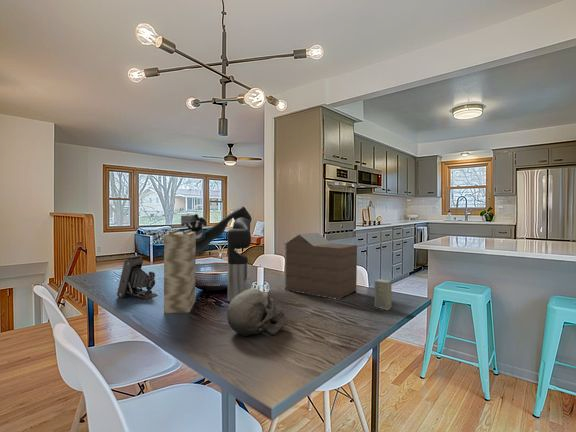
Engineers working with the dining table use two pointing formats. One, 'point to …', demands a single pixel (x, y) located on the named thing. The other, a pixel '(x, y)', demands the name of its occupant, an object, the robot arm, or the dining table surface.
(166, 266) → the post
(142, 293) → the camera
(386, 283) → the skincare box
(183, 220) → the bar
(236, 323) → the skull
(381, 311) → the dining table surface
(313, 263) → the building model
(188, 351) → the dining table surface
